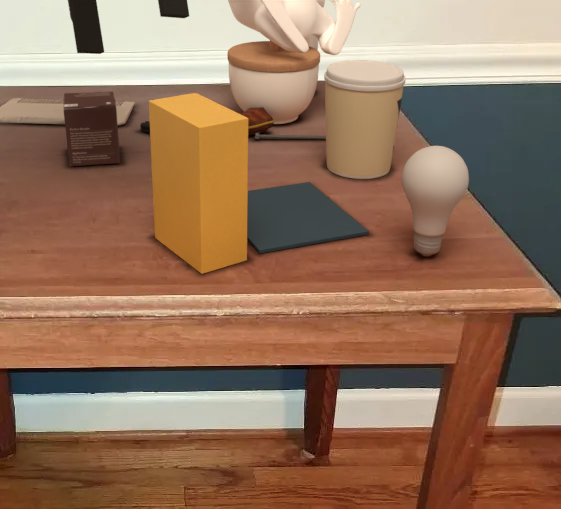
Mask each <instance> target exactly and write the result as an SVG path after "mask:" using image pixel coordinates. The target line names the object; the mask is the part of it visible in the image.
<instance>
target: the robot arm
mask: <svg viewBox="0 0 561 509" xmlns="http://www.w3.org/2000/svg"><path fill="white" fill-rule="evenodd" d="M97 2H98V1H97V0H67V4H68V10H69V18H70V20H71V22H72V28H73V35H74V41H75V47H76V54H93V55H94V54H95V55H101V54H103V53H105V47H104V40H103V35H102V28H101V22H100V16H99V9H98V3H97ZM157 3H158V9H159V16H160V18H161V17H162V18H176V19H186V18H188V17H190V12H189V11H190V10H189V5H188V0H157Z"/></svg>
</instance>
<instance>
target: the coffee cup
mask: <svg viewBox="0 0 561 509" xmlns="http://www.w3.org/2000/svg"><path fill="white" fill-rule="evenodd" d="M323 79H324V81H325V82H324V84H325V85H324V88H325V89H324V90H325V91H324V92H325V93H324V96H325V99H324V101H325V102H324V104H325V105H324V106H325V107H324V108H325V111H324V112H325V136H326V139H325V156H326V157H325V158H326V166H327V167H326V168H327V169H328V171H330V172H331V173H333V174H334V175H336V176H340V177H343V178H347V179H354V180H372V179H377V178H378V179H379V178H381V177H383V176H386V175H387V174H388V173H389V172H390V170H391V166H392V161H393V156H394V149H395V143H396V137H397V130H398V125H399V119H400V112H401V107H402V106H401V105H402V100H403V93H404V85H405V84H406V80H407V79H406V76H405V73H404V70H403V69H402V68H401V67H400V66H398V65H395V64H392V63H389V62H384V61H378V60H368V59H367V60H365V59H351V60H342V61H337V62H333V63H331V64H329V65H328V66H327V68H326V70H325V72H324V73H323Z"/></svg>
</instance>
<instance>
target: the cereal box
mask: <svg viewBox="0 0 561 509" xmlns="http://www.w3.org/2000/svg"><path fill="white" fill-rule="evenodd" d="M148 114H149V115H148V116H149V121H150V133H149V136H150V137H149V138H150V159H151V160H150V161H151V180H152V205H153V223H154V224H153V226H154V238H155V239H156V240H157V241H158V242H160V243H161V244H162V245H164V246H165V248H167V249H169V250H170V251H171V252H173V254H175V255H176V256H177V257H179V258H181V259H182V260H183V261H184V262H185V263H187V264H188V265H189V266H191V267H192V268H193V269H194V270H196V271H197V272H199V273H200V274H201V275H203V274H207V273H210V272H213V271H217V270H220V269H223V268H226V267H230V266H233V265H237V264H239V263H240V264H241V263H243V262H246V261H248V240H247V202H248V191H249V189H248V188H249V181H248V180H249V173H248V172H249V170H248V168H249V135H248V118H247V117H245V116H243V115H241V114H242V113H239V112H236V111H234V110H232V109H230V108H229V107H226V106H224V105H222V104H220V103H218V102H216V101H213V100H211V99H210V98H207V97H205V96H203V95H201V94H199V93H197V92H193V93H187V94H186V93H185V94H181V95H174V96H169V97H162V98H156V99H150V100H148Z"/></svg>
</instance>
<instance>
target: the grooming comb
mask: <svg viewBox="0 0 561 509" xmlns="http://www.w3.org/2000/svg"><path fill="white" fill-rule="evenodd" d="M115 103H116V110H117V125H118V126H123V125H125V124H126V123H127V121H128V120H129V118H130V115H131V113H132V111H133V108H134V106H135V104H136V102H135V101H124V102H123V101H120V102H119V100H118V101H116V102H115ZM0 123H8V124H9V123H12V124H13V123H14V124H15V123H17V124H23V123H24V124H44V125H45V124H47V125H49V124H50V125H65V120H64V100H63V99H57V100H56V99H54V100H53V98H52V99H50V98H48V99H46V98H45V99H43V98H41V99H39V98H38V99H36V98H34V99H33V98H30V99H29V98H22V97H12V98H11V99H9V100H7V101H6V102H5V103H4V104H2V105H1V106H0Z"/></svg>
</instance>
